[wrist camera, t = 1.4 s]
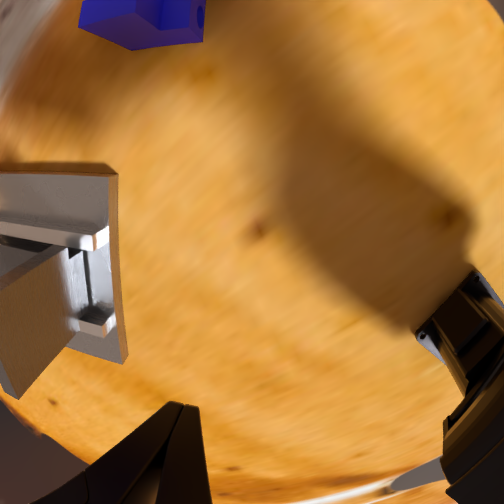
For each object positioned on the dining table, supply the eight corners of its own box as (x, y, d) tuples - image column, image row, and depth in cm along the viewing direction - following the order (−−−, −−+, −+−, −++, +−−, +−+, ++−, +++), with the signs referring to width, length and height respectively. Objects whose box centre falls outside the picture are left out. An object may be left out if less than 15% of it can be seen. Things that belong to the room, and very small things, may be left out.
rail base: (118, 174, 18) (71, 188, 13) (128, 355, 23) (101, 397, 18) (-38, 172, 19) (-76, 183, 14) (-17, 304, 24) (-46, 326, 19)
